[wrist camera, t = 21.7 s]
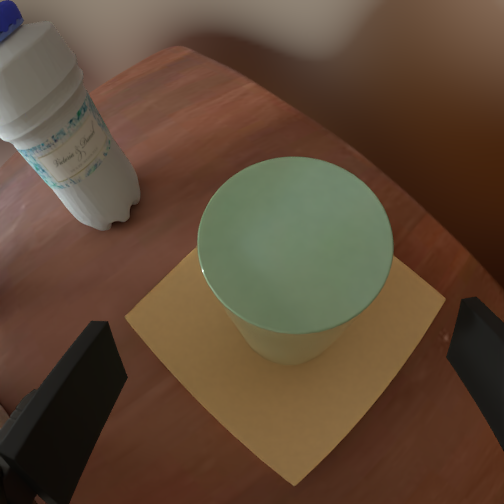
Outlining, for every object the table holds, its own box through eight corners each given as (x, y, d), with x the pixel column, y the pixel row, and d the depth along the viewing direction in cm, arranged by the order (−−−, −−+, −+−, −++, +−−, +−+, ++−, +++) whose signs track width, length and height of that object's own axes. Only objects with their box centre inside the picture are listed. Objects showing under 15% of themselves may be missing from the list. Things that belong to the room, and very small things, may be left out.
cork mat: (126, 318, 21) (123, 317, 21) (278, 175, 25) (278, 171, 25) (294, 484, 16) (294, 486, 15) (443, 300, 20) (446, 298, 19)
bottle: (103, 255, 24) (-69, 60, 6) (71, 210, 26) (-59, 47, 8) (163, 199, 25) (50, -32, 7) (124, 162, 28) (27, -21, 10)
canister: (218, 318, 20) (158, 240, 10) (285, 250, 22) (285, 131, 12) (292, 386, 18) (307, 380, 8) (359, 309, 20) (426, 226, 10)
